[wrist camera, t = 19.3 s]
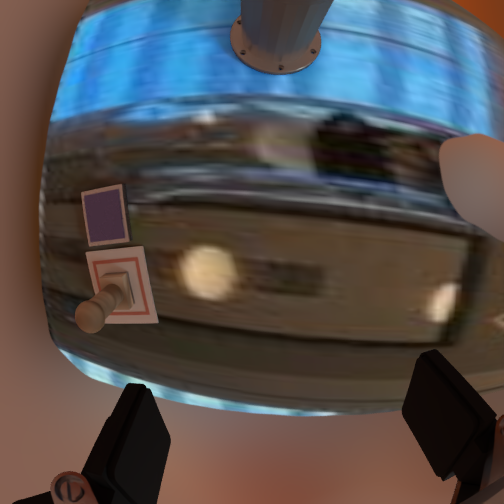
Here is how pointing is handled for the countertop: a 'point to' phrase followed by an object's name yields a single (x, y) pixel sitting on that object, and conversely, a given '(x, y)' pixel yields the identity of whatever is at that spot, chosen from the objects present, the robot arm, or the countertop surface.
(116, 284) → the stamp
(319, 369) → the countertop surface
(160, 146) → the countertop surface
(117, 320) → the note card
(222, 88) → the countertop surface
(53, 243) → the countertop surface
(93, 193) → the ink pad
